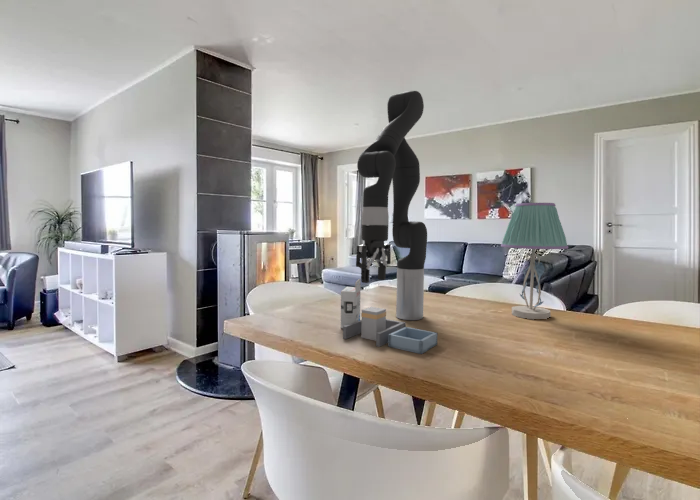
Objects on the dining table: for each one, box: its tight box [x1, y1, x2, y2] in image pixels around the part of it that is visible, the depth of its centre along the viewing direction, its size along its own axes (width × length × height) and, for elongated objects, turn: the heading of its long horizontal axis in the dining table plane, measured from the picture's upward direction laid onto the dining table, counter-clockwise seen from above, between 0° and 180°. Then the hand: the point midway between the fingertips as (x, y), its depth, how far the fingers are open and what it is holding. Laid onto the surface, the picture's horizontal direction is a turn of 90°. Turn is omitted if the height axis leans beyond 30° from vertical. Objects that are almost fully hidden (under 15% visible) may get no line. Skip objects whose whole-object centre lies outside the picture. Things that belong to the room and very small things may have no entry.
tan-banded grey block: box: [360, 306, 387, 342], centre depth 107 cm, size 5×5×8 cm
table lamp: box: [500, 202, 569, 320], centre depth 134 cm, size 22×22×40 cm
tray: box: [387, 326, 438, 355], centre depth 100 cm, size 10×10×3 cm
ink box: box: [340, 278, 362, 329], centre depth 119 cm, size 9×5×15 cm, turn 168°
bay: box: [342, 318, 407, 348], centre depth 108 cm, size 14×12×4 cm
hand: (373, 281), depth 107 cm, fingers open, 8 cm apart
